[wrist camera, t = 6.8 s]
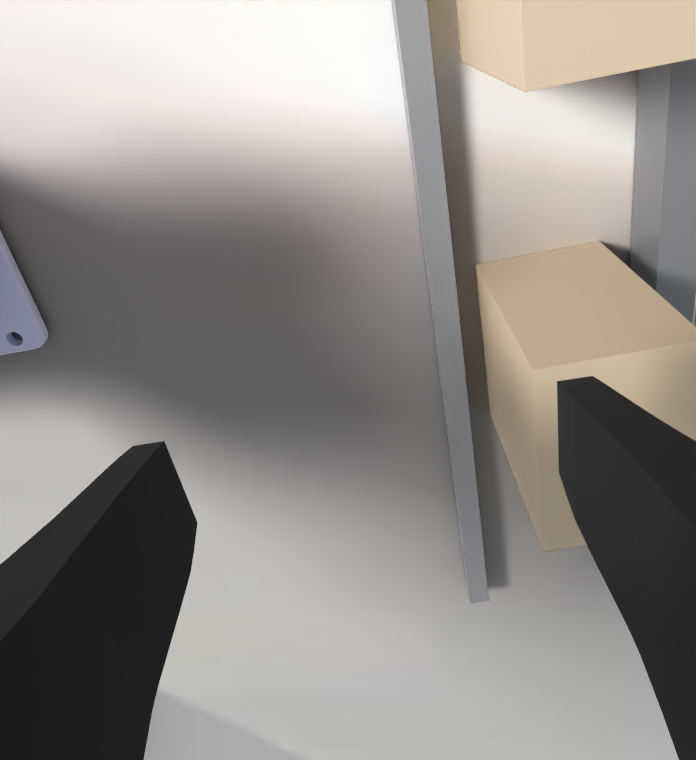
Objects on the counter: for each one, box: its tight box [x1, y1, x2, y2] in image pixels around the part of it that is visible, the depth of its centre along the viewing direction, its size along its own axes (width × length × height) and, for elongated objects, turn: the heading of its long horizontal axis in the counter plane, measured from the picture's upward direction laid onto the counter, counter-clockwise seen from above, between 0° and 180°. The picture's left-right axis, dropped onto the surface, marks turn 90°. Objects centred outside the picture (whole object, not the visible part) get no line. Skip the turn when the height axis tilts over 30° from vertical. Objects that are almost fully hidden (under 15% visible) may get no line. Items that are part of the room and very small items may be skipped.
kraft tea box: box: [475, 241, 696, 552], centre depth 19 cm, size 4×6×7 cm
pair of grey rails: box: [391, 0, 696, 603], centre depth 21 cm, size 8×26×2 cm, turn 10°
